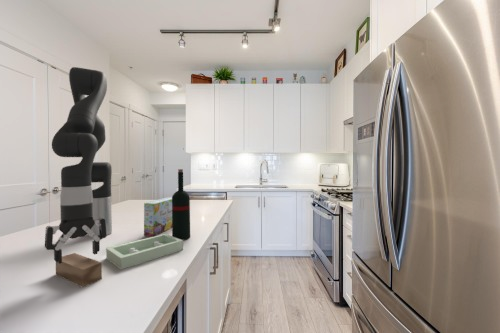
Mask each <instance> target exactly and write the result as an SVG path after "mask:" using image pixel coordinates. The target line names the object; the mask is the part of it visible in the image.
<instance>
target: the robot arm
mask: <svg viewBox="0 0 500 333" xmlns="http://www.w3.org/2000/svg"><path fill="white" fill-rule="evenodd" d="M68 79H69V80H68V81H69V85H70V90H71V96H72V99H73V103H74V104H73V106H71V108H70V110H69V113H68V116H67V120H66V122H65V123H63V125H62V126H61V127H60V128H59V129H58V130H57V132H56V133H55V135H54V136H53V138H52V140H51V150H52V151H53V153H54V154H55V155H57V156H59V157H60V158H61V157H62V158H81V159H80V162H79V163H76V164H72V165H71V164H70V165H66V166H63V167H62V168H61V170H60V184H61V185H60V195H59V196H60V199H59V201H60V203H59V204H60V223H59V224H58V225H53V226H52V225H48V226H45V233H44V234H45V235H44V236H45V237H44V248H45V249H46V250H48V251H49V250H50V251H51V250H53V260H54V262H55V263H56V262H57V263H58V264H59V263H62V257H63V256H62V255H63V254H62V251H63V250H62V247H63V246H64V245H65V243H67V242H68V241H69V240H70V239H71V240H74V239H77V238H84V237H86V236H87V235H88V237H90V238H91V239H92V243H91V244H92V254H93V255H97V254H98V252H100V250H101V248H100V242H101V240H102V239H105V238H107V235H110V234H112V233H113V225H112V224H113V223H112V222H113V220H112V218H113V216H112V215H113V214H112V212H113V211H112V209H113V208H112V207H113V206H112V175H113V174H112V173H113V172H112V165H111V163H110V162H106V161H102V162H101V161H100V162H98V161H97V162H95V161H94V160H95V158H96V157H95V156H96V154H97V152H99V151H100V149H101V148H102V146H103V145H104V143H105V142H106V126H105V124H104V122H103V121H102V119H101V118H100V117H99V116H98V112H99V110H100V108H101V105H102V103H103V101H104V100H105V97H106V94H107V91H108V90H107V89H108V81H107V76H106V74H105V73H104V72H103V71H100V70H96V69H90V68H84V67H77V66H76V67H75V66H73V67H71V68H70V69H69V72H68ZM92 183H102V185H101V186H99V187H97V188H95V189H93V188H92ZM58 231H60V232H61V233H62V234H60V236H59V237H58V239H57V241H56V242H55V243H53V241H54V240H53V239H54V235H56V233H57V232H58Z"/></svg>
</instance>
